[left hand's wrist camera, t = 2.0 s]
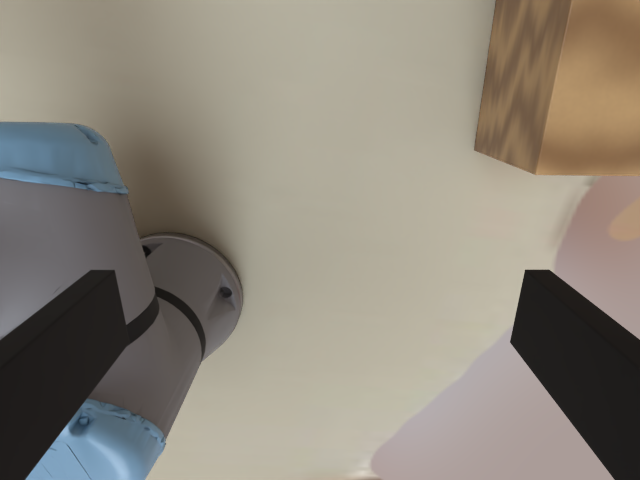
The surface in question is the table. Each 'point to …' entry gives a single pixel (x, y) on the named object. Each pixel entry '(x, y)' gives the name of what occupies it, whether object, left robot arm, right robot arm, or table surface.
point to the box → (563, 87)
